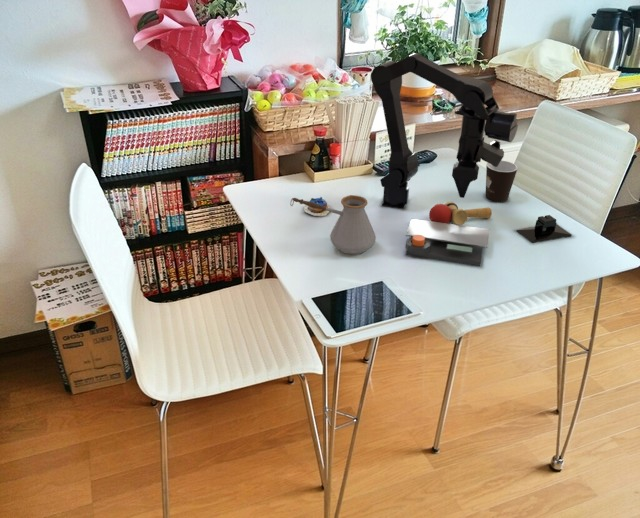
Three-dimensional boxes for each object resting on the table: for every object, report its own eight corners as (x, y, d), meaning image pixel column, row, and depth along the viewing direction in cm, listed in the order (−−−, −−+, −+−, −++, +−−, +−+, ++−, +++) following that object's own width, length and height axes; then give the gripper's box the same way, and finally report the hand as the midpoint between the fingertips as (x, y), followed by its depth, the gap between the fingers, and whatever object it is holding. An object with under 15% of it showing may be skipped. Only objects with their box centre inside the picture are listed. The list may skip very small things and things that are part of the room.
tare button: (411, 245, 145) (411, 239, 145) (413, 240, 148) (413, 233, 147) (423, 247, 145) (424, 241, 144) (425, 241, 147) (425, 235, 146)
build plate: (554, 224, 161) (558, 209, 159) (572, 236, 155) (576, 221, 153) (515, 231, 158) (519, 215, 155) (532, 244, 152) (536, 228, 149)
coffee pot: (368, 233, 156) (371, 181, 148) (380, 256, 146) (384, 201, 138) (288, 241, 152) (286, 187, 144) (295, 264, 143) (293, 209, 135)
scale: (403, 257, 146) (404, 246, 144) (412, 229, 158) (413, 219, 157) (479, 269, 142) (481, 258, 140) (483, 239, 154) (485, 229, 152)
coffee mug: (512, 205, 171) (518, 173, 165) (481, 202, 172) (487, 170, 167) (509, 188, 180) (515, 157, 175) (480, 186, 182) (485, 155, 176)
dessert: (326, 216, 162) (314, 198, 161) (307, 225, 166) (296, 207, 165) (336, 206, 169) (325, 188, 168) (318, 215, 172) (307, 198, 171)
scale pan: (405, 235, 149) (405, 234, 149) (411, 219, 156) (411, 218, 156) (487, 247, 144) (487, 246, 144) (489, 230, 152) (489, 229, 151)
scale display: (446, 249, 144) (446, 248, 143) (447, 244, 145) (447, 243, 145) (471, 252, 142) (471, 252, 142) (472, 248, 144) (472, 247, 144)
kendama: (477, 214, 168) (421, 215, 162) (485, 195, 164) (428, 196, 158) (490, 231, 163) (433, 232, 157) (499, 212, 159) (440, 213, 153)
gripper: (503, 150, 139) (493, 209, 148) (506, 125, 154) (496, 180, 163) (455, 145, 142) (447, 203, 150) (462, 120, 157) (455, 175, 165)
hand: (463, 190), depth 157 cm, fingers open, 9 cm apart
